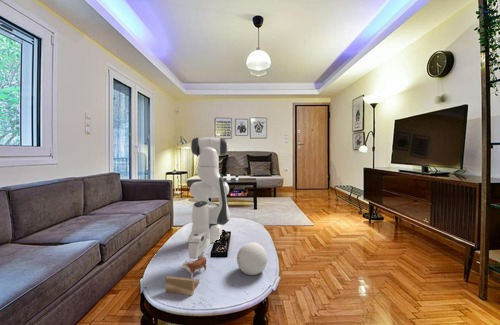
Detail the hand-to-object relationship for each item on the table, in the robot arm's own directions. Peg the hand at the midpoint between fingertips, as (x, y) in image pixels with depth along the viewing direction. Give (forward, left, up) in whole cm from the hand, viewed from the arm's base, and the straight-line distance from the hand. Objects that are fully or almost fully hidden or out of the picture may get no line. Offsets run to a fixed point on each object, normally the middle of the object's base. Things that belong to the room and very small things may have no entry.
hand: (200, 260), depth 122 cm
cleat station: (+18, 0, -4) cm, 18 cm away
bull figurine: (+7, 0, -5) cm, 8 cm away
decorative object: (0, +27, -4) cm, 27 cm away
